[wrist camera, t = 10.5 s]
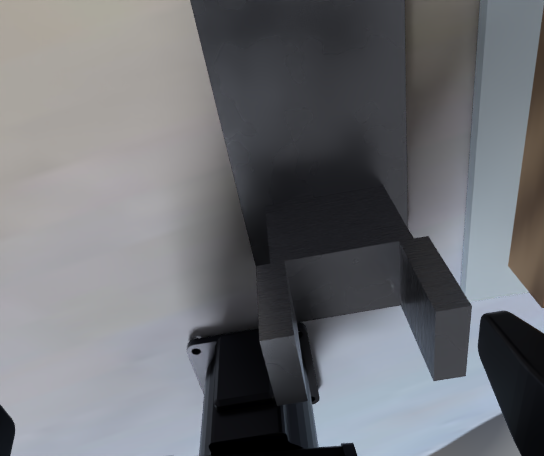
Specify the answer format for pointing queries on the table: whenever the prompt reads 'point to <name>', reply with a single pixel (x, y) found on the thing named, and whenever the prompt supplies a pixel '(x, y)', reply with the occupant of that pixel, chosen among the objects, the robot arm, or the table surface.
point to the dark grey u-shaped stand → (326, 173)
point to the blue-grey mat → (498, 143)
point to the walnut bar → (531, 193)
